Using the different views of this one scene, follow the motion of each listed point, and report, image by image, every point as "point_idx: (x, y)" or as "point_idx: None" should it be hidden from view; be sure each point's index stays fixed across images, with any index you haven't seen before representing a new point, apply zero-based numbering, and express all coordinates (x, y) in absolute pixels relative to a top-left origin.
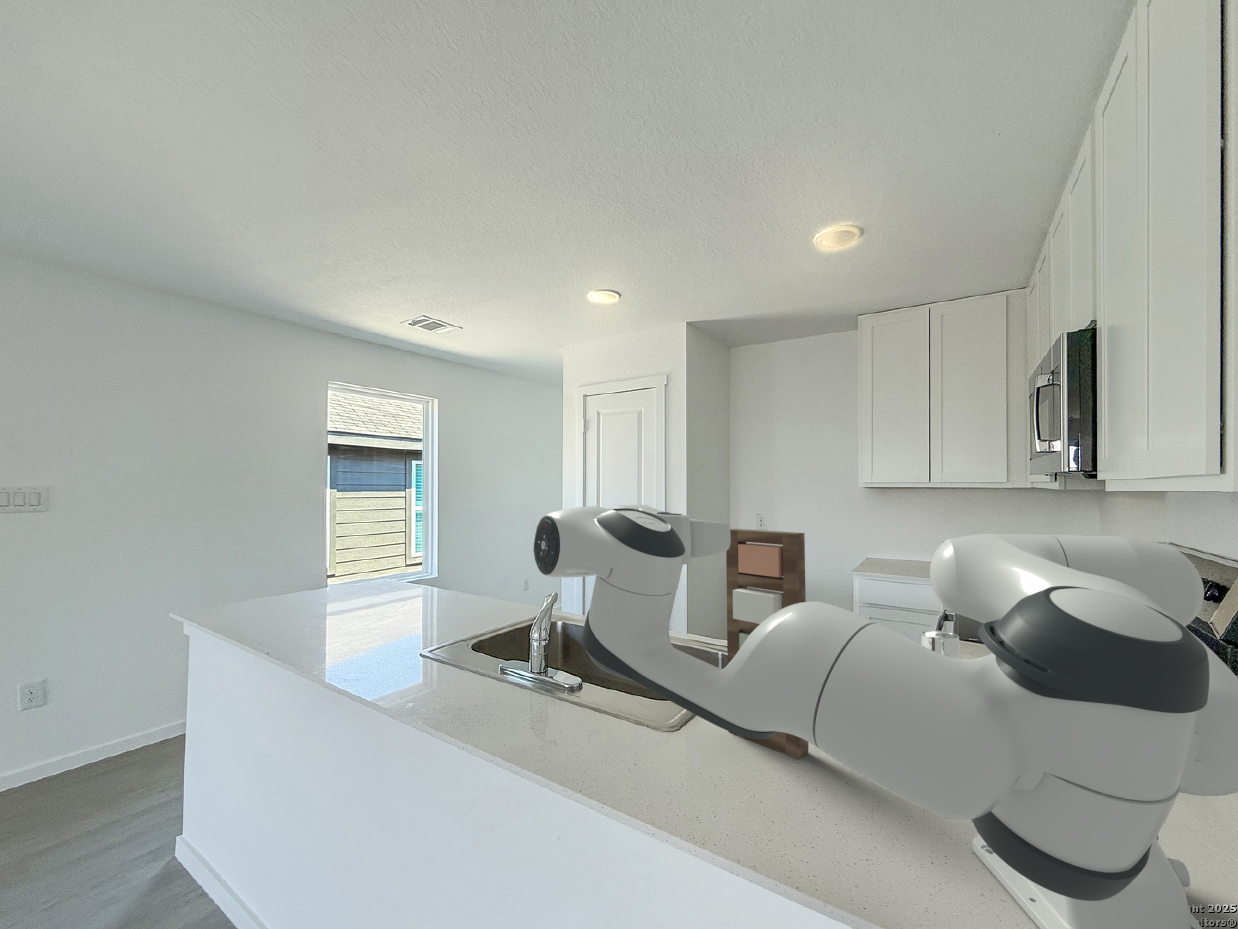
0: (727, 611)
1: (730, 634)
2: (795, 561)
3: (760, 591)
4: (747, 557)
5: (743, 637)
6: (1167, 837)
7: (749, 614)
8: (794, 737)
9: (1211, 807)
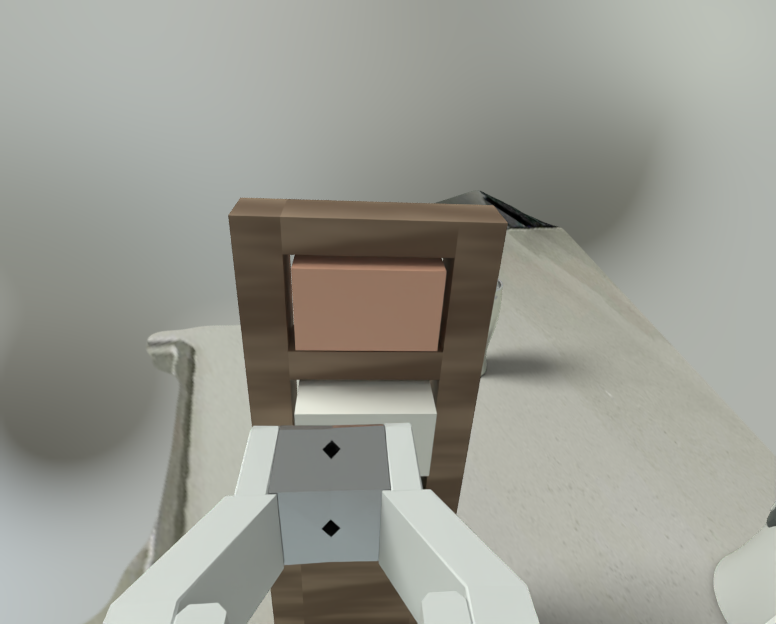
0: None
1: None
2: (491, 302)
3: (366, 386)
4: (329, 306)
5: None
6: (760, 482)
7: None
8: None
9: (721, 408)
